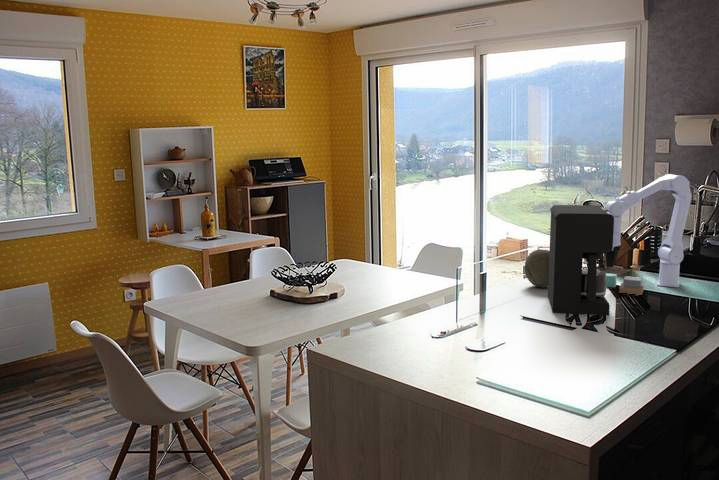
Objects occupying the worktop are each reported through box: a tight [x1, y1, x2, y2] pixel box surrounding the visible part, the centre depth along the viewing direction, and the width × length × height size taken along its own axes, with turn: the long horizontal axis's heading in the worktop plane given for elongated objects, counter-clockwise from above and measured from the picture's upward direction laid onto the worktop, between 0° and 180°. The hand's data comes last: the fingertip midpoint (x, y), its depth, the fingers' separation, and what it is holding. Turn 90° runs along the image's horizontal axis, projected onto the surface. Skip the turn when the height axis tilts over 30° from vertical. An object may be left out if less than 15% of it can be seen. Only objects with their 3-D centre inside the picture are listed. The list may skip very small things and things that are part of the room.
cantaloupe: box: [524, 249, 550, 289], centre depth 271 cm, size 14×14×15 cm
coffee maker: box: [547, 204, 614, 316], centre depth 239 cm, size 28×20×35 cm
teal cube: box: [605, 272, 618, 288], centre depth 272 cm, size 4×4×4 cm
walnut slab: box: [618, 282, 645, 296], centre depth 262 cm, size 8×8×3 cm
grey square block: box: [622, 275, 643, 288], centre depth 261 cm, size 6×6×3 cm
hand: (611, 265), depth 271 cm, fingers open, 7 cm apart
